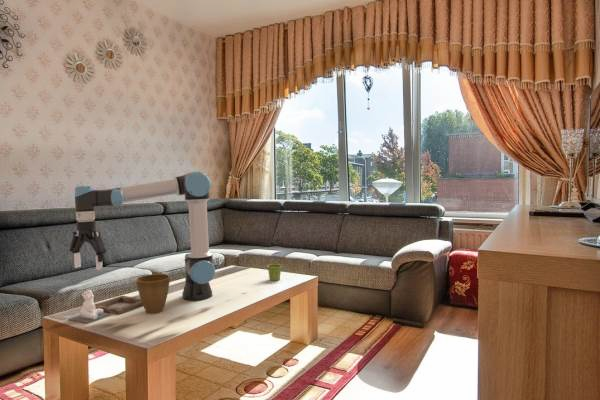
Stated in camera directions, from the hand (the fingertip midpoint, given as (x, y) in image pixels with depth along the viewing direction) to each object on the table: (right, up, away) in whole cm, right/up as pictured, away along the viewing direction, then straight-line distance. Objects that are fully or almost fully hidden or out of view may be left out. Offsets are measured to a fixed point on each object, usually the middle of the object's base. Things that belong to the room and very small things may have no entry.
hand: (88, 268), depth 188 cm
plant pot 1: (+27, -22, +8) cm, 35 cm away
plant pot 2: (+79, -18, +67) cm, 105 cm away
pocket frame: (+7, -21, +17) cm, 28 cm away
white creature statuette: (+1, -22, 0) cm, 22 cm away
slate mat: (0, -22, +1) cm, 22 cm away
